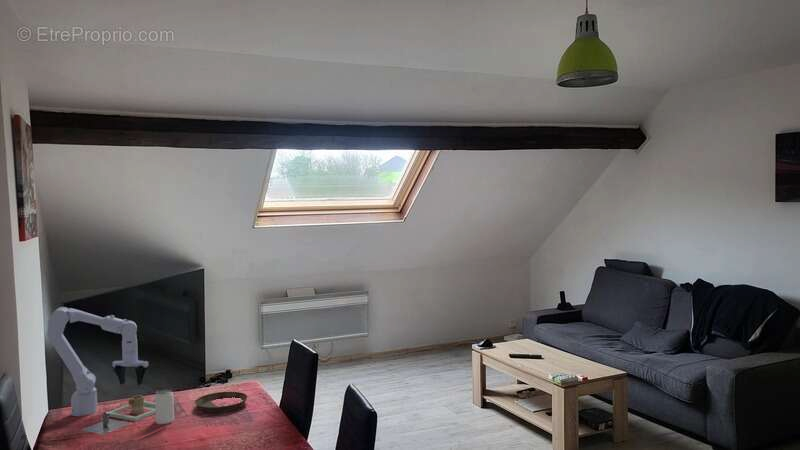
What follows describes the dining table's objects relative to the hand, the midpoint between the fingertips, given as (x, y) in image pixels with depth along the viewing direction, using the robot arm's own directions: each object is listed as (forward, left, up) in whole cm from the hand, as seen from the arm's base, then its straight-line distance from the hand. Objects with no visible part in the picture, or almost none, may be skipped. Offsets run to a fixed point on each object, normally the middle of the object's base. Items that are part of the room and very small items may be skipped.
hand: (131, 384), depth 243 cm
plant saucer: (+33, +16, -10) cm, 38 cm away
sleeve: (+8, -4, -9) cm, 13 cm away
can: (+26, -7, -10) cm, 29 cm away
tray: (+8, -4, -10) cm, 13 cm away
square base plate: (+10, -20, -10) cm, 24 cm away
